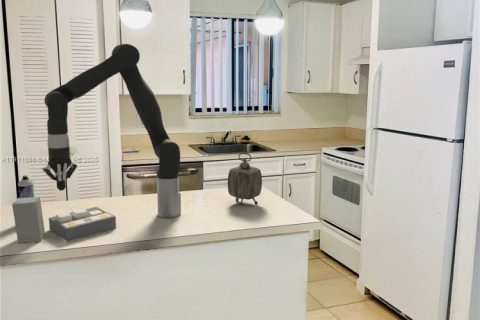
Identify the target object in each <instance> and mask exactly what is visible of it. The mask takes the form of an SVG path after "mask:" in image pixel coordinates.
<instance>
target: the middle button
mask: <svg viewBox="0 0 480 320" xmlns="http://www.w3.org/2000/svg"><path fill="white" fill-rule="evenodd" d="M85 209H86V208H78V209H74V210H72V211H71V213H72V217H74V218H76V219H79V218H83V217H87V216H88V211H87V210H85Z"/></svg>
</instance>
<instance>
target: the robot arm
mask: <svg viewBox="0 0 480 320" xmlns="http://www.w3.org/2000/svg"><path fill="white" fill-rule="evenodd" d="M140 58H141V53H140V51H139V49H138V48H137V47H136V46H135V45H134V44H131V43H123V44H121V43H120V44H118V45H116V46H115V47H113V49H112V51H111V56H109V57H108V58H106V59H105V60H104V61H102V62H100V63H98V64H97V65H95V66H93V67H90V68H88V69H86V70H84V71H82V72H81V73H79V74H78V75H77V76H75V77H73V78H71V79H70V80H68V81H67V82H66V83H64V84H62V85H60V86H58V87H56V88H54V89H52V90H50V91H49V92H48V93H47V94H46V95H45V97H44V104H45V106H46V107H47V118H48V119H47V122H46V123H47V124H46V126H47V127H46V128H47V129H46V130H47V152H48V153H47V154H48V155H47V156H48V162H47V165H46V166H45V167H43V168H42V172H44V173H45V174H46V175H47V176H48V177H49V178H50V179H51V180H53V181H56V188H57V189H58V191H60V192H61V191H65V189H66V185H67V184H66V180H68V179H70V178H71V176H73V174H74V172H75V171H76V169H77V168H78V165H77V164H76V163H73V161H72V159H71V146H70V137H69V127H68V126H69V125H68V115H69V114H68V111H69V109H68V108H69V106H68V105H69V103H70V102H72V101H73V100H75V99H79V98H82V97H83V96H85V95H86V94H87V93H89V92H91V91H92V90H93V89H95V88H96V87H98V86H99V85H101V84H102V83H104V82H105V81H107V80H108V79H110V78H112V77H114V76H115V75H118V74H119V75H120V76H121V77H122V79H123V81H124V83H125V86H126V88H127V92H128V94H129V96H130V99H131V101H132V103H133V106H134V108H135V110H136V112H137V114H138V117H139V120H140V121H141V123H142V124H143V126H144V128H145V130H146V132H147V134H148V136H149V139H150V143H151V145H152V149H153V153H154V154H155V156H156V158H158V169H157V171H156V185H157V186H156V190H157V192H156V193H157V196H156V198H157V216H158V217H160V218H166V219H167V218H175V217H178V216H179V215H181V214H182V203H181V202H182V201H181V199H182V197H181V192H179V191H180V189H179V188H180V187H179V185H180V184H179V173H180V169H181V150H180V149H181V148H180V146H179V144H178V143H176V142H175V141H174V140H171V138H170V137H169V135H168V133H167V130H166V129H165V126H164V124H163V118H162V111H161V108H160V105H159V103H158V100H157V98H156V96H155V93H154V92H153V90H152V89H151V87H150V86H149V85H148V83H147V82H146V81H145V79H144V78H143V76H142V74H141V72H140V70H139V66H138V65H137V64H139V61H140ZM51 171H53V172H54V174H53V173H52V172H51Z"/></svg>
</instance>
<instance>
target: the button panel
mask: <svg viewBox="0 0 480 320" xmlns="http://www.w3.org/2000/svg"><path fill="white" fill-rule="evenodd" d="M84 209H85V210H87V211H88V212H90V211H94V210H99V211H101V212H103V213H100V214H96V215H91V214H89V213H88V216H87V217H83V218H79V219H76V218H74V217H72V220H71V221H67V222H63V223H59V222H58V221H56V215H55V216H51V217H48V224H49V226H48V227H49V231H51V232H52V233H53V234H55V235H57V236H58V237H59V238H61V239H62V240H64V241H66V242H71V241H75V240H79V239H83V238H87V237H89V236H93V235H97V234H100V233H101V234H102V233H104V232H108V231H111V230H114V229H117V220H116V219H117V218H116V216H115V215H114V214H111V213H109V212H108V211H105V210H103V209H102V208H99V207H97V206H94V207H90V208H84ZM69 213H70V214H71V215H72V212H69Z"/></svg>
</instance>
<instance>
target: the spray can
mask: <svg viewBox="0 0 480 320" xmlns="http://www.w3.org/2000/svg"><path fill="white" fill-rule="evenodd" d="M17 185H18V186H17V188H18V196H19V197H18V198H31V197H35V187H34V181H33V180H31V179H30V178H29V177H28V175H23V176H22V178H21V180H20V181H19V180H18V183H17Z"/></svg>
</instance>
